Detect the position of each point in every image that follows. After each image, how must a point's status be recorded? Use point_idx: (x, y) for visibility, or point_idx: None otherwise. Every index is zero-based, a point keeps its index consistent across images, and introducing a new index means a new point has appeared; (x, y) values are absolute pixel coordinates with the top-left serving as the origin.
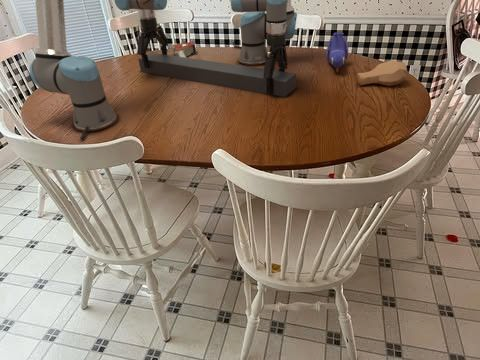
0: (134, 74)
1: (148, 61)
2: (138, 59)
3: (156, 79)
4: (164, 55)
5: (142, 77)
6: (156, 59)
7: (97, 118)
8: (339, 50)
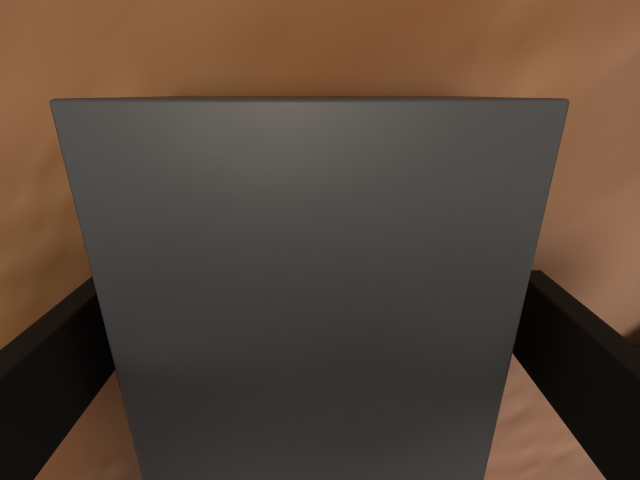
0: (42, 91)
1: (77, 413)
2: (60, 106)
3: (104, 419)
4: (446, 447)
5: (47, 267)
6: (221, 461)
7: None
8: None
